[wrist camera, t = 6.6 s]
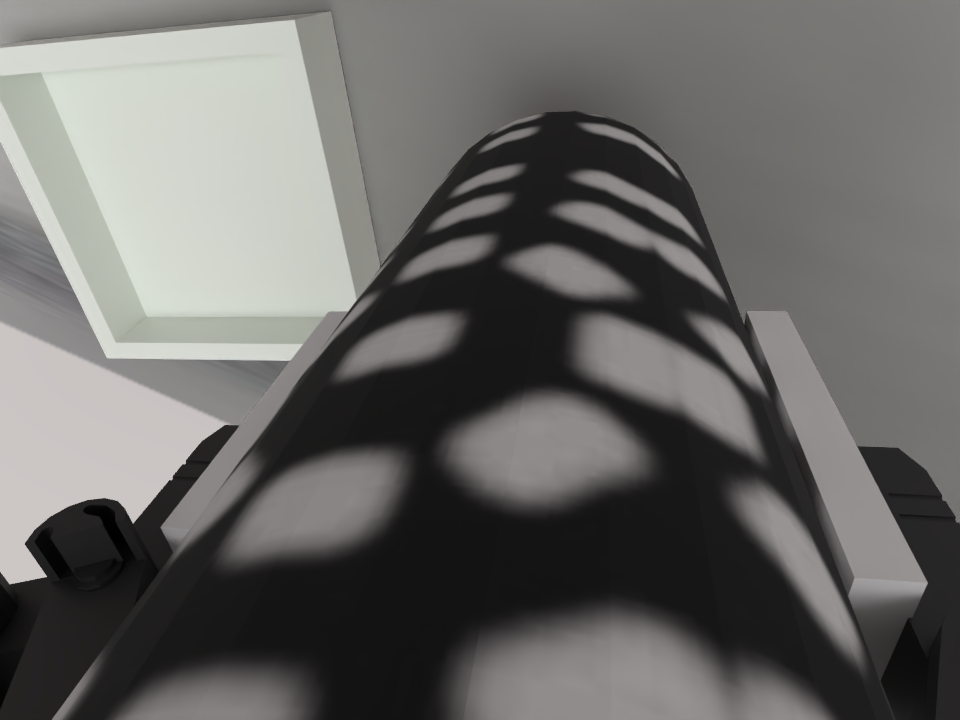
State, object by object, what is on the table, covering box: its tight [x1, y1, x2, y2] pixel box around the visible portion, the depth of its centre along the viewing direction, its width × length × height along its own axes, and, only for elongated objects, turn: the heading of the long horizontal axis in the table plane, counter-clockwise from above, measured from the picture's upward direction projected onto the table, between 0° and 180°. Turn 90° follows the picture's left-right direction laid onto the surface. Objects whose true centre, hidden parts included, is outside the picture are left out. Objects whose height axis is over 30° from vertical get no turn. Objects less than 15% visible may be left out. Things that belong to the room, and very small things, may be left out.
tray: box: [0, 11, 380, 361], centre depth 36 cm, size 18×18×4 cm
